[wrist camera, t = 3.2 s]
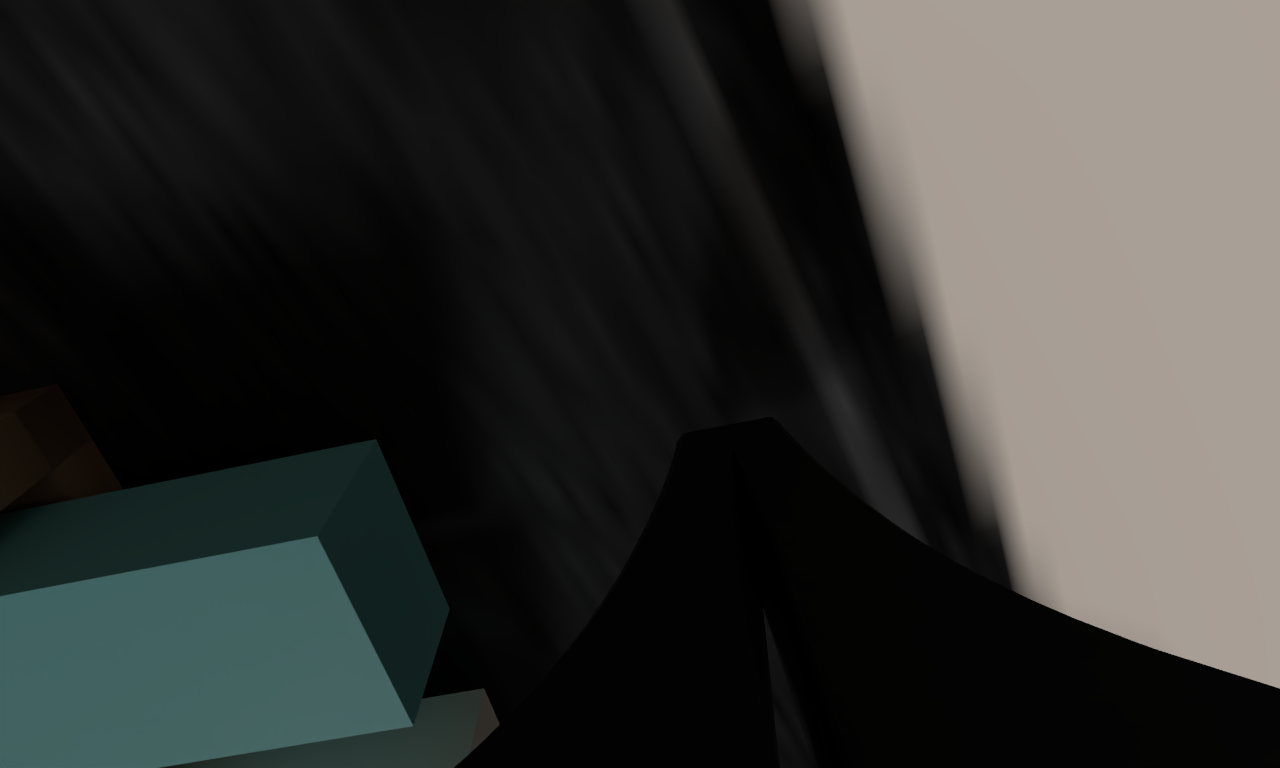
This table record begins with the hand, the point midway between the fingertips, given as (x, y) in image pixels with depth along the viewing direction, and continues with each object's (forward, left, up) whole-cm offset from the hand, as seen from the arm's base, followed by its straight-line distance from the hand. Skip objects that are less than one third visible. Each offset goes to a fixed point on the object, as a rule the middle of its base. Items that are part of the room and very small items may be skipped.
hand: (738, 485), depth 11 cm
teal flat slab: (+8, +4, 0) cm, 9 cm away
